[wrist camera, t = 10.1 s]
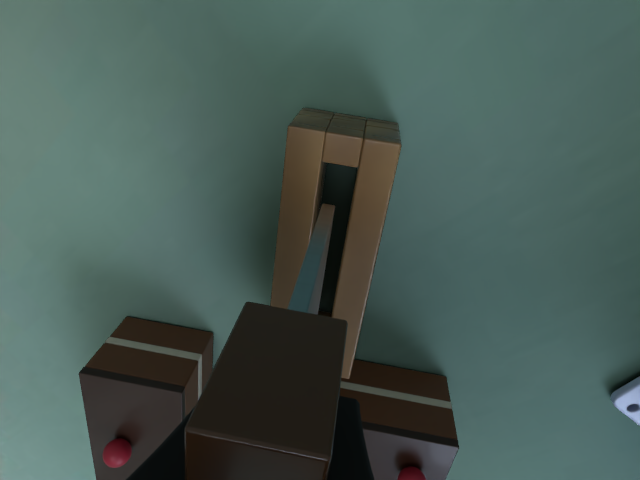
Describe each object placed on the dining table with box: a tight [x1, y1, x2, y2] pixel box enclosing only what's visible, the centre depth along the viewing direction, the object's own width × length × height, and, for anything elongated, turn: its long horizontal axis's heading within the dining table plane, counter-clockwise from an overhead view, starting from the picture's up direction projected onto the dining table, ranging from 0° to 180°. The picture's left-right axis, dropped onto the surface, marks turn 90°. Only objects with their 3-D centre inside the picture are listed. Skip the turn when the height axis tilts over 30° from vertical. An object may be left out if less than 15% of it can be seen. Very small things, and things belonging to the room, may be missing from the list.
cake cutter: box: [185, 204, 348, 480], centre depth 11 cm, size 2×7×8 cm, turn 172°
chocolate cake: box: [339, 359, 459, 480], centre depth 21 cm, size 6×8×5 cm
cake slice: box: [79, 317, 213, 480], centre depth 22 cm, size 4×8×5 cm, turn 172°
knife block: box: [270, 108, 401, 379], centre depth 17 cm, size 4×10×3 cm, turn 172°
